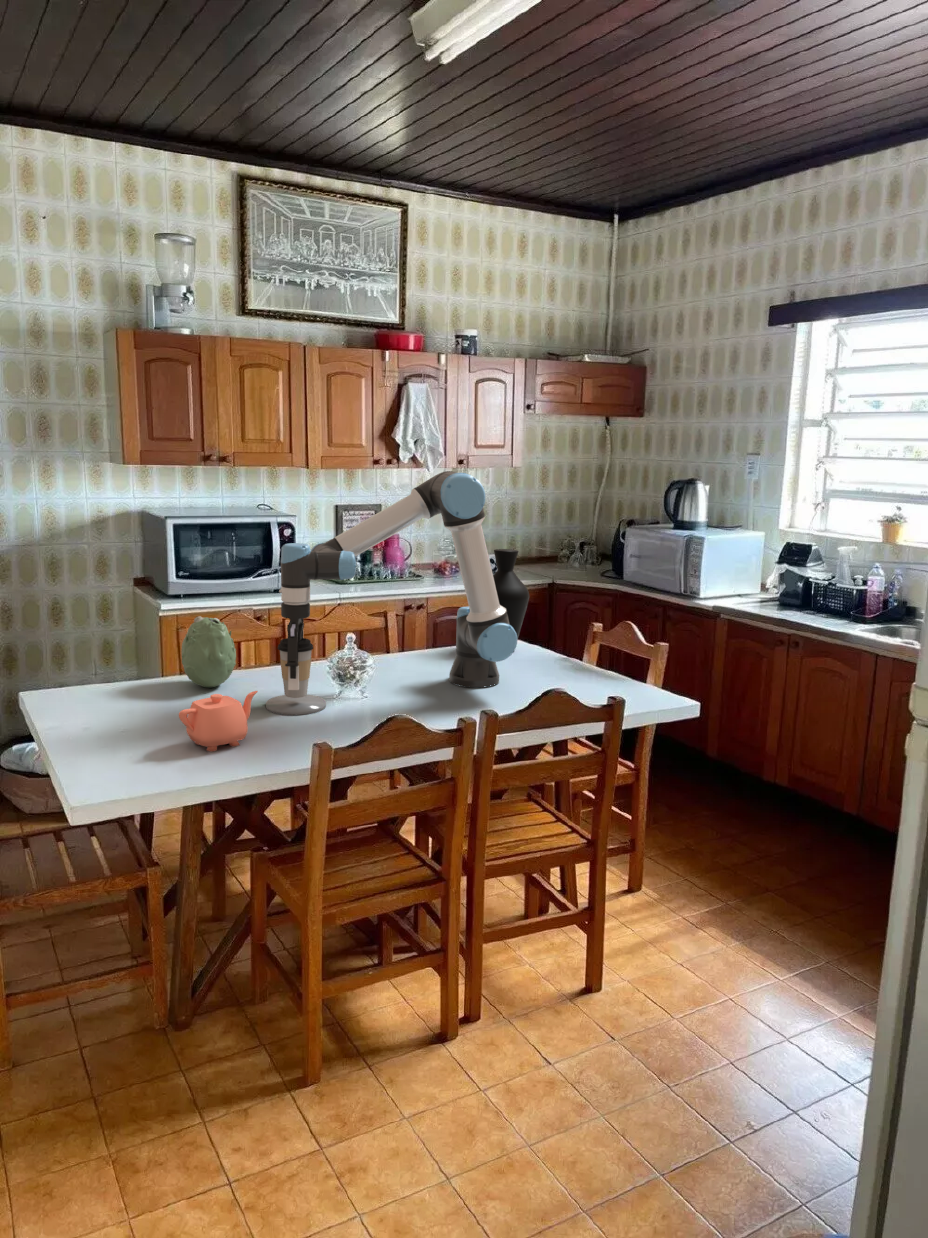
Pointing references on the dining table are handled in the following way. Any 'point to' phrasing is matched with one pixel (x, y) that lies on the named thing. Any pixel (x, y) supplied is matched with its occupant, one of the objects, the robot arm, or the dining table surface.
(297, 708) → the coaster
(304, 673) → the coffee cup
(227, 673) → the green bumpy egg shape
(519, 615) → the vase
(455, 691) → the dining table surface
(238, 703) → the teapot
